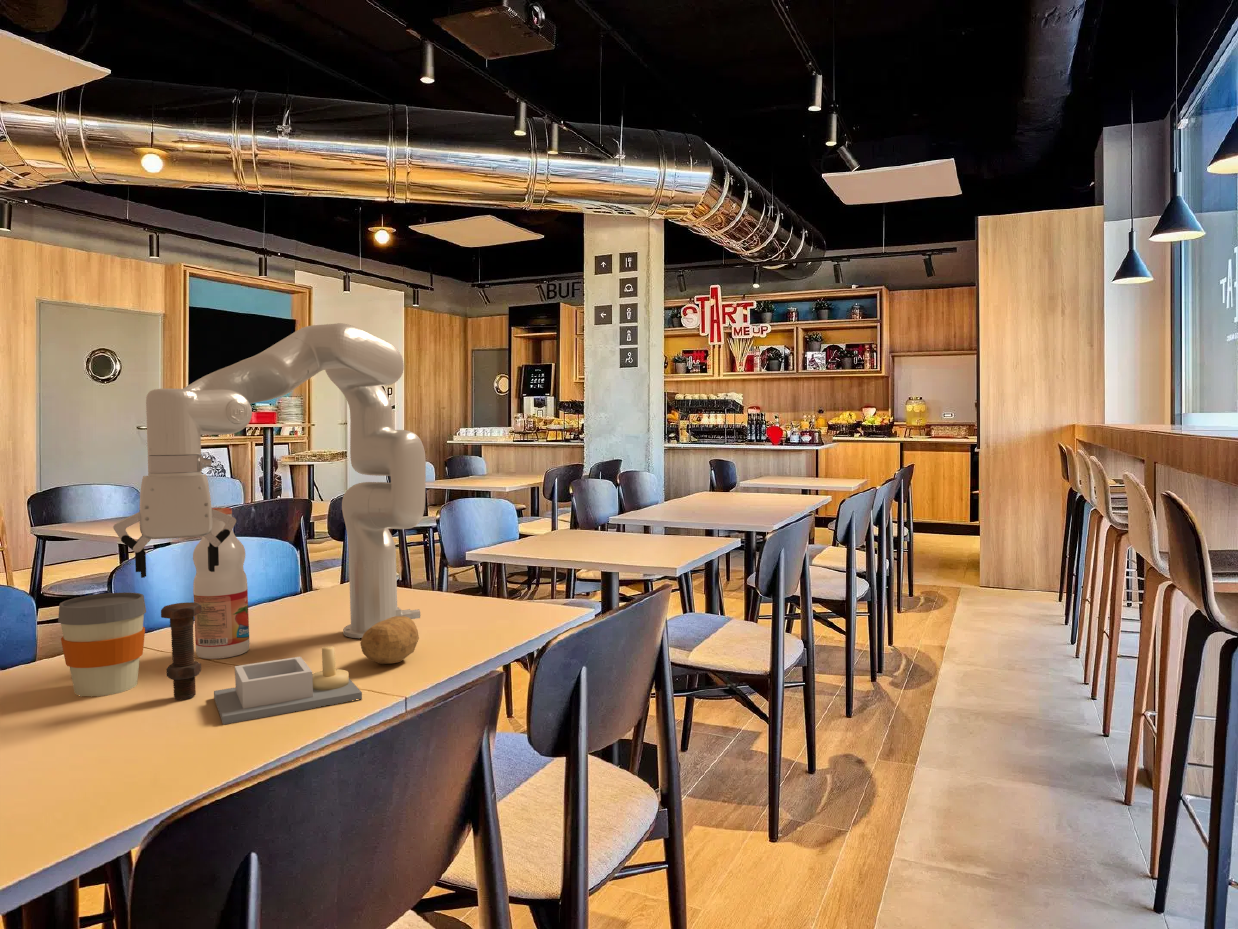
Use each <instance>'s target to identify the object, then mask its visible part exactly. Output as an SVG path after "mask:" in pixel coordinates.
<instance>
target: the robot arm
mask: <svg viewBox="0 0 1238 929" xmlns="http://www.w3.org/2000/svg"><path fill="white" fill-rule="evenodd" d="M404 368H405V364H404V359H403V355H402V354H401V352H400V350H398V348H397V347H396V346H394V345H393V344H392V343H391V342H388V341H387V340H384V339H383V338H380V337H378V336H376V335H374V334H372V333H370V332H368V331H365V330H364V329H361V328H360V327H356V326H354V325H351V324H348V323H341V322H340V323H339V322H338V323H337V322H336V323H327V324H311V325H307V326H304V327H301V328H299V329H297V330H295V331H294V332H293V333H290V334H289V335H288V336H286V337H284V338H283V339H281V340H279V341H278V342H276V343H275V344H274V343H273V344H272V345H271V346H270V347H268V348H266V349H265V350H263V351H261V352H259V353H257V354H255V355H253V356H251V357H248V358H245V359H242V360H239V361H238V362H235V363H233V364H230V365H228V366H225V367H222V368H219V369H217V370H215V371H213V372H210V373H209V374H206V375H204V376H202V377H201V378H198V379H196V380H195V381H193V382H192V383H190V384H188V385H186V386H185V387H183V388H155V389H152V390H149V392H148V393H147V395H146V397H145V398H146V400H145V407H146V408H145V409H146V411H145V413H146V438H147V441H146V442H147V443H146V444H147V474H148V475H143V476H142V478H141V485H140V490H139V491H140V494H139V511H138V512H136V513H133V515H130V516H128V517H126V518H124V519H122V520H121V521H118V522H116V523H114V524H113V526H112V528H113V530H114V532H115V534H116V535H117V537H118V538H119V540H120V541H121V542H122V543H123V544H124V545H126V547H128V548H129V549H131V550H132V551H133V552H134V557H135V558H134V562H135V573H140V577H141V579H144V578H145V577H147V556H146V555H147V554H146V550H145V547H146V546H147V544H149V542H150V541H151V540H163V539H166V540H167V539H178V538H180V539H181V538H182V539H183V538H193V537H194V538H196V537H197V538H198V537H203V536H204V537H205V538H206V539H207V540H208V541H209V547H208V570H209V571H211V572H215V566H219V552H218V546H220V544H221V543H222V542H223V541H224V540H225V539H226V538H227V537H228V536H229V535H230V533H231V531H232V529H234V527H235V525H236V523H237V519H236V518H235V517H233V516H232V517H231V516H229V515H226V514H224V513H222V512H219V511H217V510H214V509H212V500H211V492H210V486H209V480H208V477H207V474H204V473H202V471H203V470H204V469H205V468H211V467H212V458H206V457H204V456H202V440H201V439H202V438H201V437H202V435H209V436H210V435H212V436H214V435H215V436H220V435H224V436H225V435H226V436H227V435H233V434H236V433H239V432H241V431H242V430H244V429H245V428H247V426H248V425H249V424H250V422H251V420H252V415H253V411H252V406H251V404H256V403H261V402H267V401H271V400H273V399H277V398H280V397H282V396H286V395H288V394H289V393H291V392H292V391H294V390H295V389H297V388H298V387H300V386H301V385H302V384H304V383H305V382H307V381H308V380H310V379H311V378H314V376H316V375H317V374H319V373H320V372H322V371H325V373H326V375H327V377H328V378H329V380H330V381H331V382H332V383H333V384H334V385H335V386H336V387H337V388H338V389H339V390H340V392H341V393H342V394H343V396H344V398H345V400H346V402H347V404H348V409H349V416H350V418H349V419H350V429H349V430H350V432H349V434H350V435H349V436H350V437H349V438H350V439H349V441H350V442H349V443H350V445H349V446H350V447H349V451H350V452H349V453H350V455H349V456H350V464H351V467H352V468H353V470H354V471H355V472H356V473H359V474H361V475H365V476H374V477H375V476H376V477H377V476H380V477H381V476H385V477H386V476H387V477H390V482H386V481H385V482H383V481H363V482H358V483H356V484H354V485H351V487H349V488H347V490H346V491H345V493H344V494H343V497H342V500H341V510H342V517H343V519H344V524H345V525H344V526H345V529H346V534H347V535H346V536H347V543H348V544H347V545H348V546H347V547H348V576H349V579H348V582H349V606H350V607H349V608H350V611H349V612H350V614H349V615H350V624H347V625H345V626H344V627H343V631H342V633H343V635H344V636H345V637H347V638H352V639H360V638H362V637H363V635H364V633H365V632H366V631H367V630H368V629H369V628H371V627H372V626H374V625H375V624H377V623H378V622H381V621H383V620H386V619H388V618H391V617H395V616H405V617H409V618H410V619H411V620H415V619H416V620H417V619H421V611H420V609H410V608H409V609H401V608H400V607H399V606H398V586H397V585H398V584H397V583H398V582H397V550H396V549H397V547H396V542H395V539H394V537H393V535H392V533H391V532H390V530H391V529H392V530H393V529H394V530H409V529H412V528H414V527H416V526H418V524H420V523H421V520H422V519H423V516H424V513H425V507H426V480H427V479H426V474H427V473H426V472H427V469H426V468H427V466H426V465H427V464H426V463H427V462H426V461H427V460H426V451H425V447H424V445H423V441H422V440H421V438H420V437H419V436H418V435H417V434H416V433H415V432H413V431H410V430H406V429H394V426H393V422H394V421H393V420H394V419H393V406H392V402H391V400H390V397H389V396H388V393H387V392H386V390H385V389H384V388H383V387H385V386H390V385H393V384H395V383H397V382H398V381H399V380H400V378H401V377H402V375H403V373H404ZM212 517H213V518H216V519H218V520H220V521H223V522H224V523H225V525H224V528H223V529H222V531H220V532H219V533H218V534H217V535H216V536H214V535H213V534H212V533H211V531H212ZM136 523H139V530H140V533H141V536H140V537H139V538H138V539H137V540H135V539H134V538H133V537H132V536H130V535H129V533H128V532H127V530H126V529H127V528H129V527H131V526H132V525H135V524H136ZM389 529H390V530H389Z"/></svg>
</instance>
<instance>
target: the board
mask: <svg viewBox="0 0 1238 929" xmlns="http://www.w3.org/2000/svg"><path fill="white" fill-rule="evenodd" d="M321 660H322V661H321V662H322V664H321V665H322V666H321V667H322V670H320V671H316V672H313V671H312V669H311V668H310V667H309V665H308V663H306V661H305V660H304V659H303V658H302V656H296V657H287V658H283V659H274V660H269V661H262V662H255V663H254V662H253V663H247V664H242V665H235V666H234V678H235V679H234V680H235V682H234V683H235V686H234V687H230V688H224V689H223V688H222V689H216V690H213V698H214V702H215V705H216V708H217V710H218V711H217V712H218V713H219V717H220V720H221V723H222V725H228V724H232V723H233V724H234V723H239V722H246V721H250V720H255V719H256V720H257V719H262V718H267V717H273V716H279V715H285V714H289V713H290V714H291V713H296V712H301V711H306V710H307V711H308V710H311V709H312V708H313V709H317V708H316V707H319V708H322V707H321V706H324V707H326V706H325V705H330V706H334V704H335V705H339V704H338V703H341V704H344V703H343V702H347V701H352V700H356V699H362V700H363V692H362V691H361V690H360V688H358V686H357V685H356V684H355V683H354V682H353V681H352V680H351V678H350V677H349V676H350V675H349V674H350V673H349V671H348V670H344V669H338V668H337V669H336V647H335V646H324V647H323V648H321ZM352 702H353V701H352ZM347 703H348V702H347ZM295 711H296V712H295Z"/></svg>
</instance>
